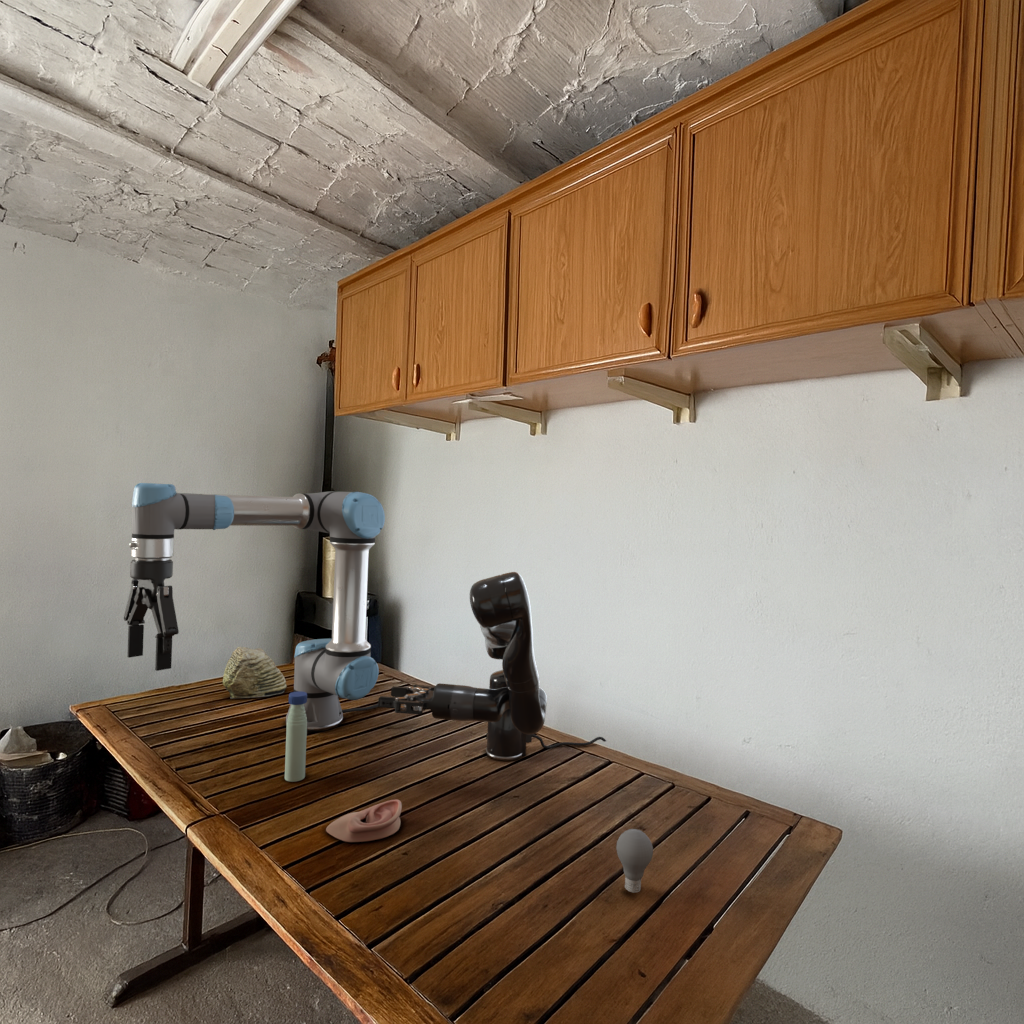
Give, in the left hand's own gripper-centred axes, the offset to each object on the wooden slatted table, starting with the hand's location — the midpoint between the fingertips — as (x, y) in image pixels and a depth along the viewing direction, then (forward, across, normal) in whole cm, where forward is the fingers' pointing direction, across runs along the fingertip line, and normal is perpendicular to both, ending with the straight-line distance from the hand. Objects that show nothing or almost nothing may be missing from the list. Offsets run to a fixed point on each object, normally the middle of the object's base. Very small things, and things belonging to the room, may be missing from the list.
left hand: (148, 662), depth 129 cm
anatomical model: (+28, +42, +23) cm, 55 cm away
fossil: (+28, -47, +50) cm, 74 cm away
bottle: (+28, +13, +26) cm, 41 cm away
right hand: (+9, +28, +39) cm, 49 cm away
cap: (+9, +13, +26) cm, 31 cm away
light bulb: (+28, +90, +41) cm, 103 cm away
